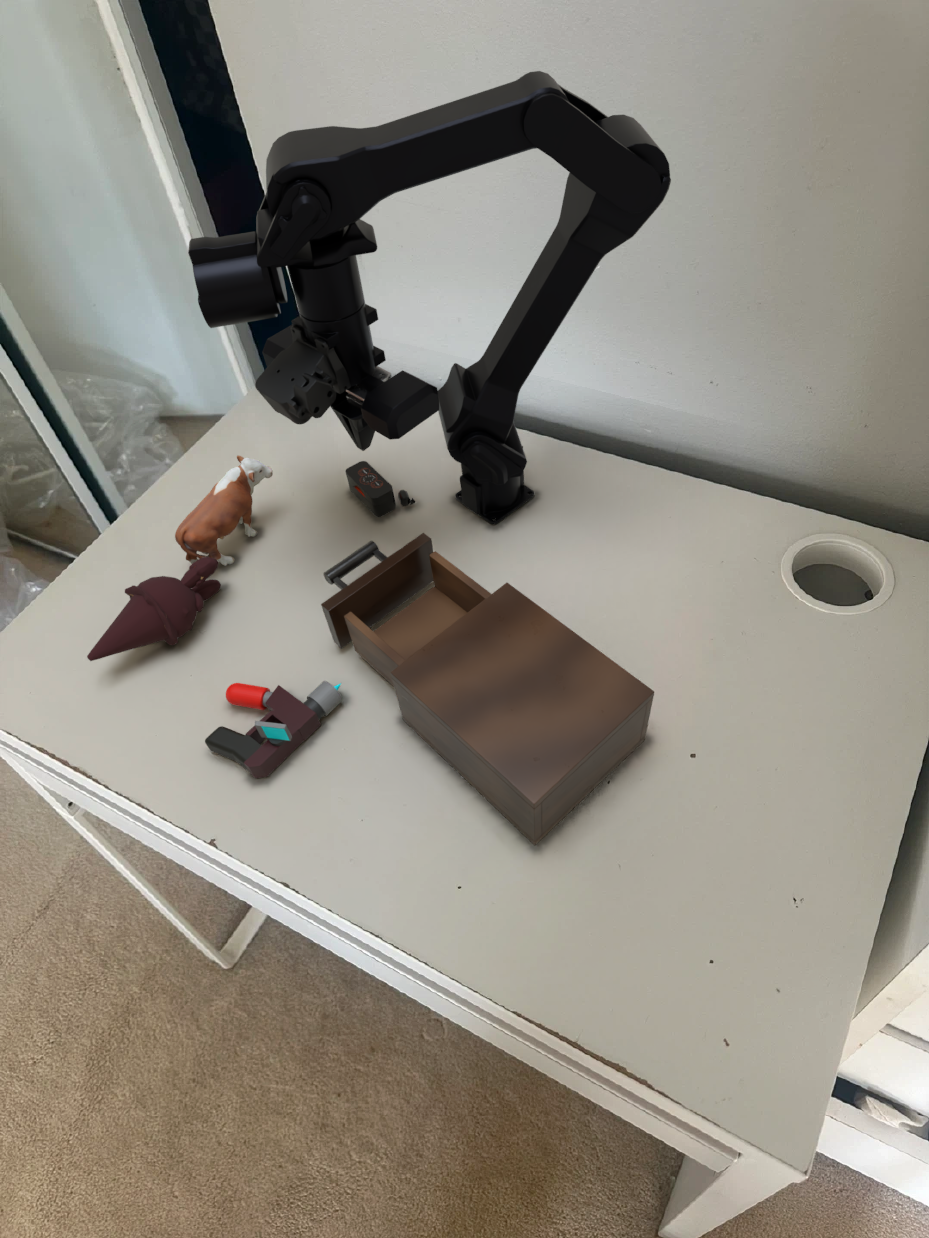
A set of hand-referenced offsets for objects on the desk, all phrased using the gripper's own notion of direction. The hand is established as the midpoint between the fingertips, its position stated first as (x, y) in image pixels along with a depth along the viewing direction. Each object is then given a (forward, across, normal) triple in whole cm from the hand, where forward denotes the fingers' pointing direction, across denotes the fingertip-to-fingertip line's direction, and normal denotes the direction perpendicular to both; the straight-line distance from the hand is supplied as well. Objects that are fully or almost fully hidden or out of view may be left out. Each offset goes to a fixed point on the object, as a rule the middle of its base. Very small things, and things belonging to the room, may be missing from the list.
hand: (364, 447), depth 80 cm
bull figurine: (+10, -10, -12) cm, 19 cm away
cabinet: (+10, +29, -10) cm, 33 cm away
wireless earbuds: (+10, -2, +2) cm, 11 cm away
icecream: (+10, -5, -25) cm, 27 cm away
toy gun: (+10, +11, -24) cm, 28 cm away
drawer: (+9, +16, -9) cm, 20 cm away
